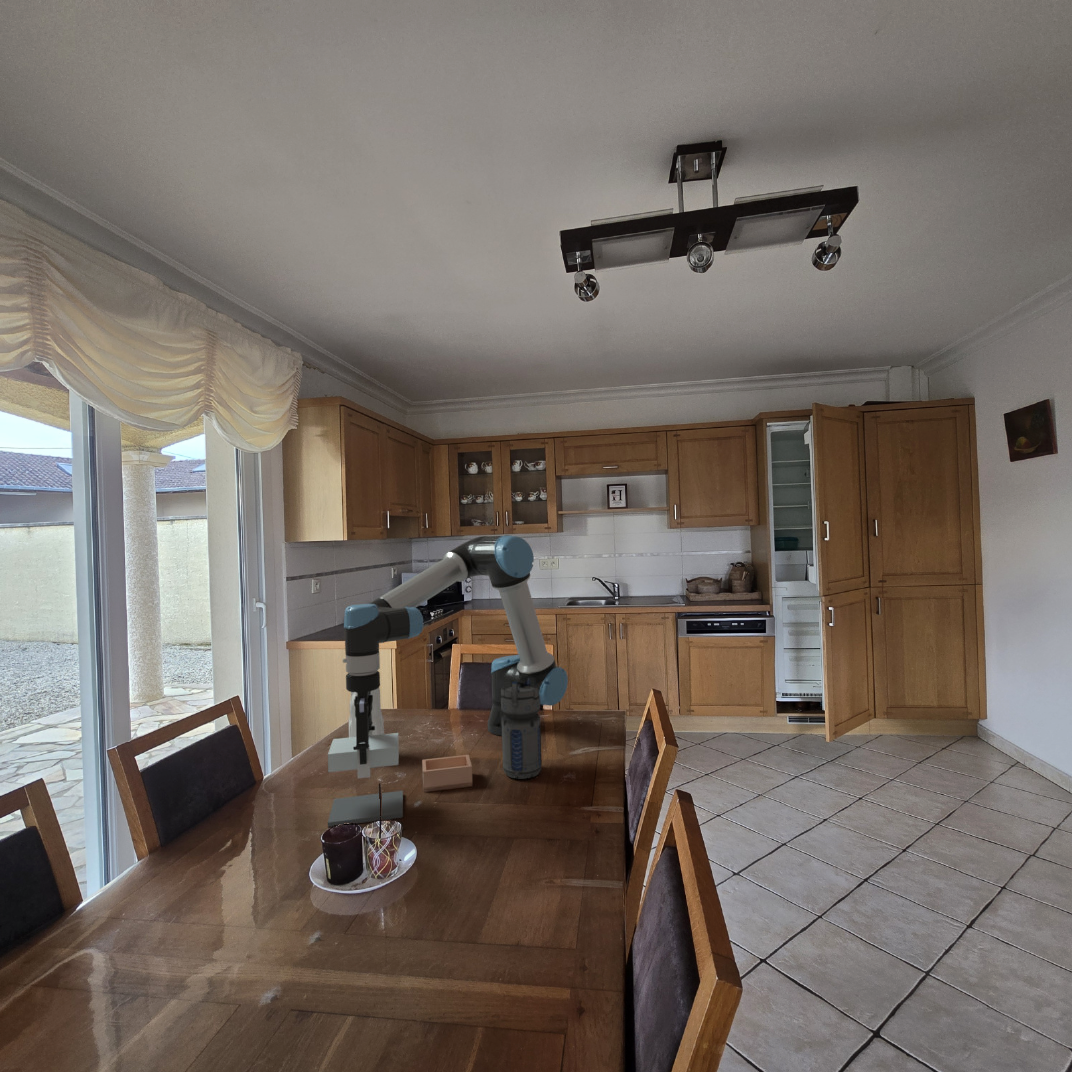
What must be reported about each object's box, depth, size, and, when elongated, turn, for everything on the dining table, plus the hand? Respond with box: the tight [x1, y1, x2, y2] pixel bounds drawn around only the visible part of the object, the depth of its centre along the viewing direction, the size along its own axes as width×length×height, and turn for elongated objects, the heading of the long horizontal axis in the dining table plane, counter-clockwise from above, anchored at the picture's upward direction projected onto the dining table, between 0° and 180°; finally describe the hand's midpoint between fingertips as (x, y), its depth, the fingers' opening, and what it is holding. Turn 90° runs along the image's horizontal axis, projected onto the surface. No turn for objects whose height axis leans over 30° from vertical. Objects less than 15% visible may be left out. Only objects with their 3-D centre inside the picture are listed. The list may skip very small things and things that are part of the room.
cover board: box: [327, 732, 400, 773], centre depth 138 cm, size 15×10×4 cm, turn 102°
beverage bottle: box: [501, 675, 543, 780], centre depth 157 cm, size 10×13×25 cm
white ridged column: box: [348, 687, 385, 738], centre depth 170 cm, size 11×11×25 cm
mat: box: [327, 790, 404, 828], centre depth 138 cm, size 16×12×1 cm
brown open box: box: [421, 754, 473, 793], centre depth 152 cm, size 12×8×5 cm, turn 102°
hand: (365, 768), depth 138 cm, fingers closed on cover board, 10 cm apart
